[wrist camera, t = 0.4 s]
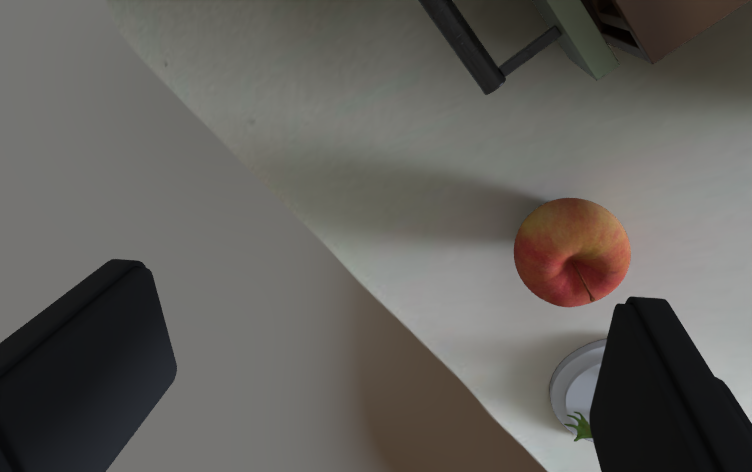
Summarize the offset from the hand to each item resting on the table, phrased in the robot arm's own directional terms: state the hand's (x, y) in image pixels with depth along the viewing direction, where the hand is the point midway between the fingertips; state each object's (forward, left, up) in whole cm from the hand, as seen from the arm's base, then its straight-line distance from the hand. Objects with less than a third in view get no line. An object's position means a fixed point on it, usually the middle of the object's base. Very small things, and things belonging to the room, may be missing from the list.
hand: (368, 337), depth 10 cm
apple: (+14, +1, -28) cm, 31 cm away
